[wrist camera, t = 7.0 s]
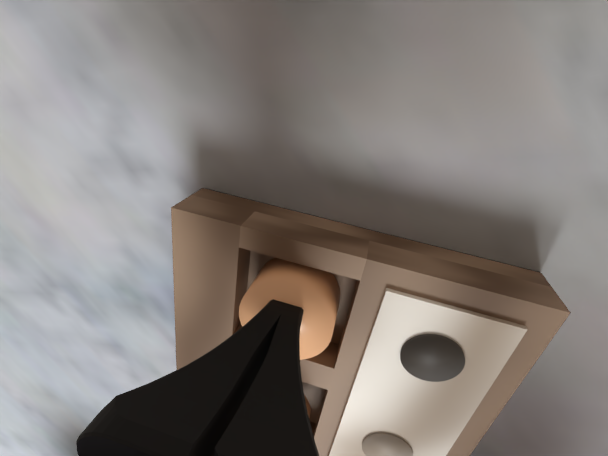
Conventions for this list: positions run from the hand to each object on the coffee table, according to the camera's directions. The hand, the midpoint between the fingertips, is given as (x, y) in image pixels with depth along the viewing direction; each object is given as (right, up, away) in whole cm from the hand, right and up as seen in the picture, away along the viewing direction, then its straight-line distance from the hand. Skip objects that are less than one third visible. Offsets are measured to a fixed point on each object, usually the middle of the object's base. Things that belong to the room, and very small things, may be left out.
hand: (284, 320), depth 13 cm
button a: (0, +1, +2) cm, 2 cm away
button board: (+2, -5, +5) cm, 7 cm away
